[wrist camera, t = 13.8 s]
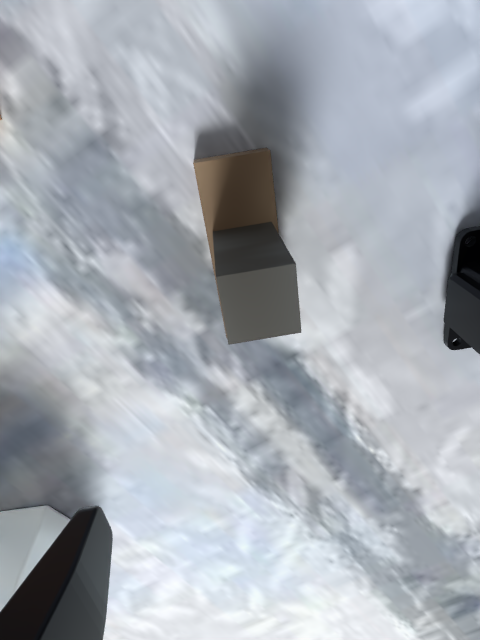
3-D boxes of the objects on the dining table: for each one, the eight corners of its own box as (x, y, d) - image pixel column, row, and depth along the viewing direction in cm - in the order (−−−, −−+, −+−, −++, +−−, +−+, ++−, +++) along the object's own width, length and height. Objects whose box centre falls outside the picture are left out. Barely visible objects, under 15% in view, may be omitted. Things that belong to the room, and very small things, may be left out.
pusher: (266, 147, 16) (296, 169, 11) (283, 316, 20) (313, 394, 15) (194, 159, 16) (189, 186, 11) (225, 326, 20) (233, 407, 15)
